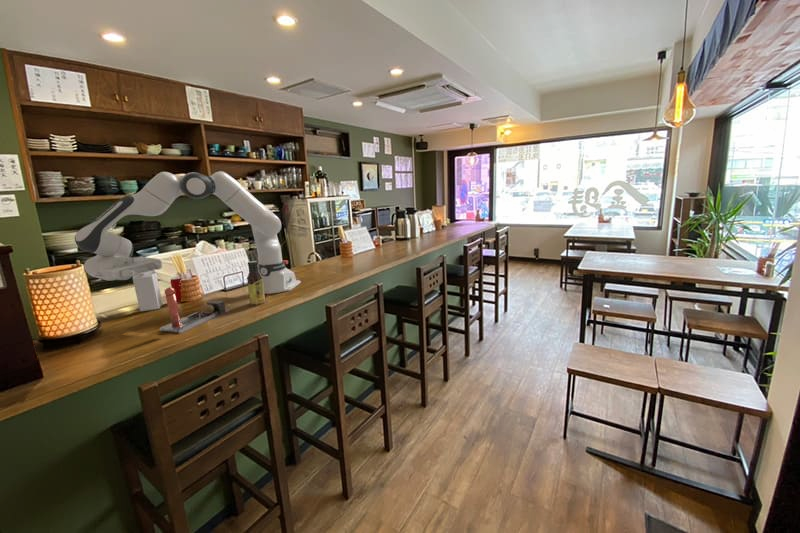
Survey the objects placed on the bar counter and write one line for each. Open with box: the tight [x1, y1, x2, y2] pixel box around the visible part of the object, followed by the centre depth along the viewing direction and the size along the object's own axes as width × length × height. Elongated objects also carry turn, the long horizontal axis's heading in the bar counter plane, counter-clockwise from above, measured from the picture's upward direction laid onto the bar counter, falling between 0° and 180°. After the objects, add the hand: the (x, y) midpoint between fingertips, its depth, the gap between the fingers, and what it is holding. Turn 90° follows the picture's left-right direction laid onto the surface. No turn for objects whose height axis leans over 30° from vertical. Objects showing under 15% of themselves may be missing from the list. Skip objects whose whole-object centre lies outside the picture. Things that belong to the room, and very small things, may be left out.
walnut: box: [202, 304, 214, 315], centre depth 142 cm, size 4×4×4 cm
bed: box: [159, 299, 231, 334], centre depth 137 cm, size 24×10×5 cm, turn 163°
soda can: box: [170, 275, 182, 304], centre depth 163 cm, size 6×6×12 cm
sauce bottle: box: [246, 260, 266, 307], centre depth 152 cm, size 6×6×20 cm
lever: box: [162, 287, 189, 333], centre depth 127 cm, size 7×7×16 cm
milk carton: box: [132, 270, 164, 312], centre depth 155 cm, size 7×7×19 cm
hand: (147, 269), depth 131 cm, fingers open, 8 cm apart
